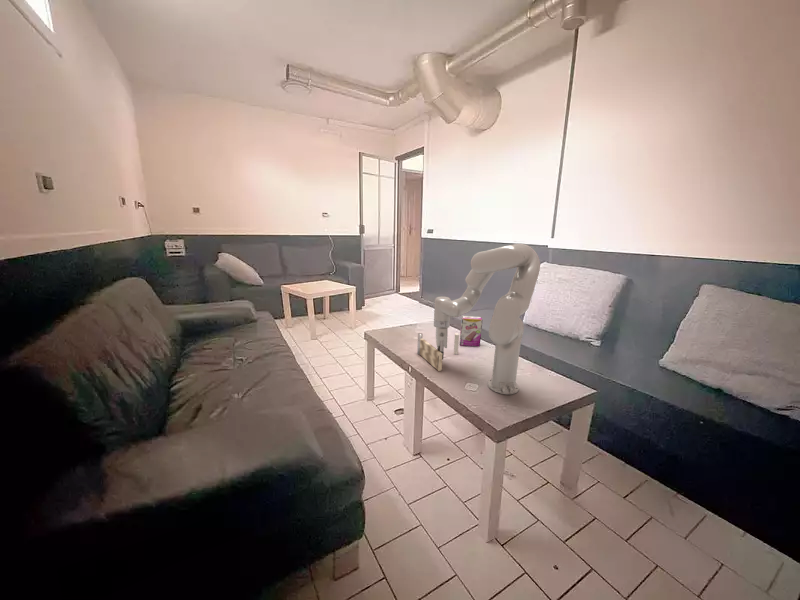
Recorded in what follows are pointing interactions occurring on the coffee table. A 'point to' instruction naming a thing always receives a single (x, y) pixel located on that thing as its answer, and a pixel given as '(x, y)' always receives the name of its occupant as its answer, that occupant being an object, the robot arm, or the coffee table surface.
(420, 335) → the hinge post
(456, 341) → the post
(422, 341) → the gate
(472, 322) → the candy bar box
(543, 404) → the coffee table surface
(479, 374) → the coffee table surface
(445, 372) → the coffee table surface
